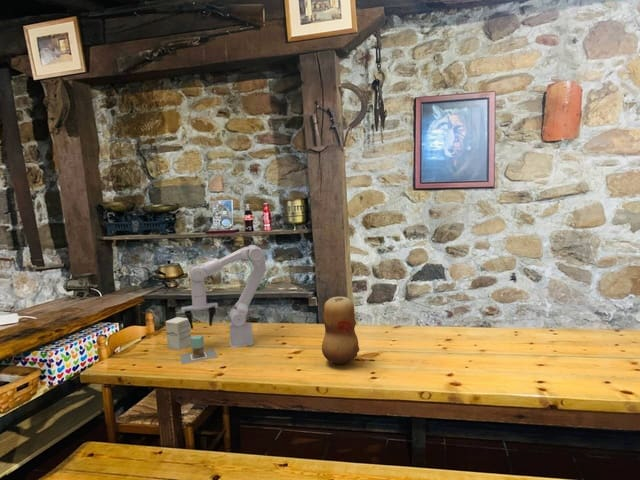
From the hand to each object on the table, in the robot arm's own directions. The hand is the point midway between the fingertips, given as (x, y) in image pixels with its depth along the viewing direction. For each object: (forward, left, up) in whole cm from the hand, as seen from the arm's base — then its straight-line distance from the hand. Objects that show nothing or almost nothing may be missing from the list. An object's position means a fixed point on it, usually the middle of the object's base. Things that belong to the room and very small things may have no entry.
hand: (201, 326), depth 178 cm
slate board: (+3, +7, -10) cm, 13 cm away
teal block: (+3, +7, -6) cm, 10 cm away
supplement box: (+9, -9, -11) cm, 16 cm away
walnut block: (+3, +7, -10) cm, 12 cm away
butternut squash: (-45, +41, -11) cm, 62 cm away
